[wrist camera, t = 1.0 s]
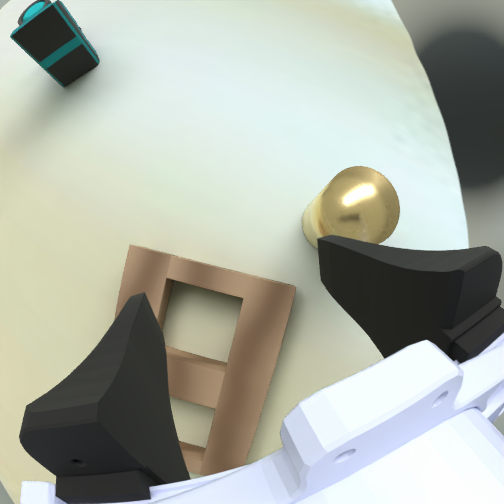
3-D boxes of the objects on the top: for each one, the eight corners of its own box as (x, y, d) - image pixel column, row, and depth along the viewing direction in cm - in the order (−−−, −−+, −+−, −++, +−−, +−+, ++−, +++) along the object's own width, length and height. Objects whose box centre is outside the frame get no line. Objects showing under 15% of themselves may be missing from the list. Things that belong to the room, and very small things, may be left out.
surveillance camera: (50, -30, 16) (55, 2, 16) (87, 24, 28) (101, 63, 28) (11, -1, 16) (8, 38, 16) (53, 46, 28) (62, 89, 28)
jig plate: (292, 285, 27) (296, 287, 24) (239, 468, 26) (237, 482, 23) (140, 246, 27) (129, 244, 24) (111, 430, 26) (101, 440, 24)
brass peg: (360, 204, 27) (404, 180, 18) (349, 258, 27) (392, 255, 18) (308, 190, 27) (333, 156, 18) (296, 244, 27) (317, 234, 18)
